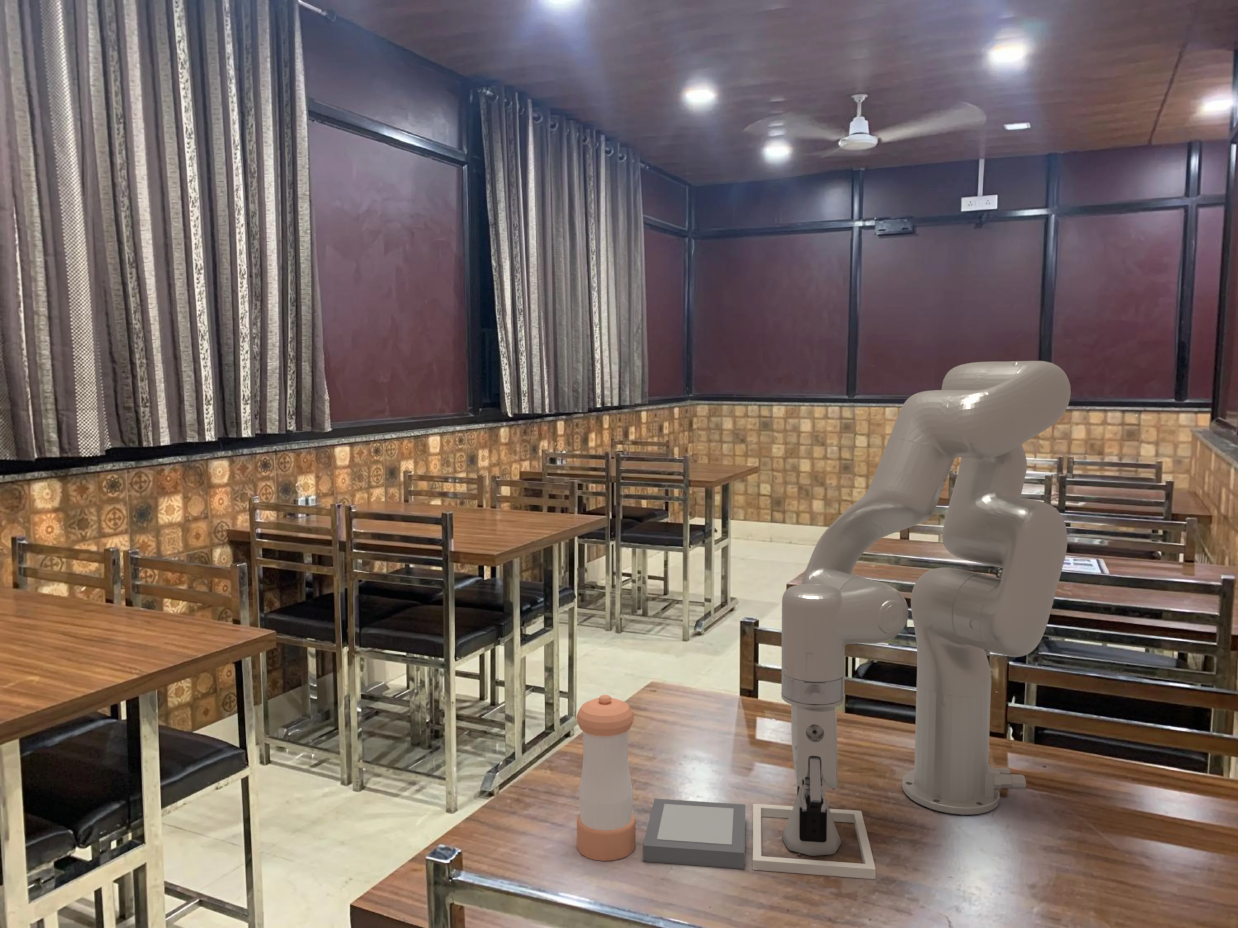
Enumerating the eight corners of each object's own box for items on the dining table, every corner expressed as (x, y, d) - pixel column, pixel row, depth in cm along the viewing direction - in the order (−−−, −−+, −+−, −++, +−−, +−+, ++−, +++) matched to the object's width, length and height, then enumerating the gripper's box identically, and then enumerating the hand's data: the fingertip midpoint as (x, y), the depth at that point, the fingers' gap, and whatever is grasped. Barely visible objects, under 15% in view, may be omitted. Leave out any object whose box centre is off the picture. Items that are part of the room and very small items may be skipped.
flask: (842, 860, 105) (843, 780, 104) (781, 854, 107) (781, 775, 106) (839, 830, 112) (840, 754, 111) (782, 825, 114) (782, 750, 113)
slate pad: (745, 818, 116) (745, 803, 115) (744, 868, 104) (744, 851, 104) (654, 812, 117) (654, 797, 117) (643, 861, 106) (643, 844, 105)
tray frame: (861, 819, 115) (861, 810, 115) (875, 879, 102) (875, 869, 101) (753, 812, 117) (753, 803, 117) (752, 869, 104) (752, 859, 104)
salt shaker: (643, 835, 112) (642, 688, 110) (624, 865, 105) (623, 709, 103) (589, 826, 114) (588, 682, 112) (567, 855, 107) (566, 702, 105)
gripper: (851, 714, 99) (849, 868, 100) (837, 665, 115) (836, 798, 117) (783, 711, 100) (782, 863, 102) (779, 663, 117) (778, 794, 118)
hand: (811, 826), depth 109 cm, fingers closed on flask, 4 cm apart
